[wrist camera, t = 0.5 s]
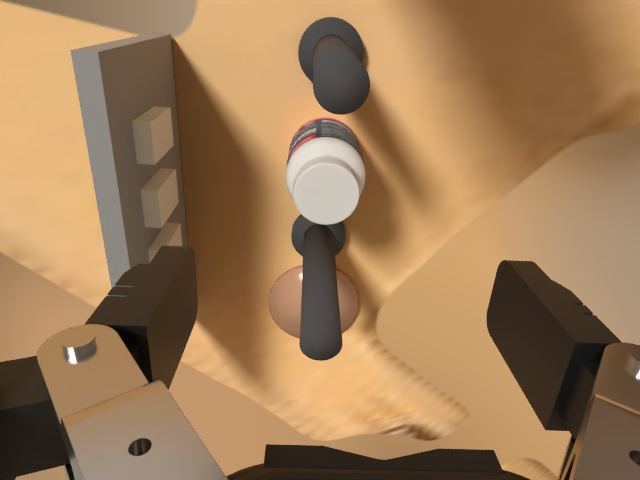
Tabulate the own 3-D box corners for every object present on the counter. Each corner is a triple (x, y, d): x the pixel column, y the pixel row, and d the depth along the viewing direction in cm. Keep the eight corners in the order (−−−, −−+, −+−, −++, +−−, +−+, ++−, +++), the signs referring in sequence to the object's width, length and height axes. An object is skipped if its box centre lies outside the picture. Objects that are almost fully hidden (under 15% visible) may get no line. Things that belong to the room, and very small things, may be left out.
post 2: (292, 207, 37) (282, 310, 25) (347, 210, 38) (363, 313, 25) (291, 254, 39) (280, 372, 27) (342, 257, 40) (356, 374, 27)
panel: (152, 33, 31) (70, 50, 21) (185, 35, 31) (120, 53, 21) (178, 301, 41) (131, 405, 31) (203, 302, 42) (165, 406, 31)
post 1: (300, 15, 31) (291, 25, 19) (365, 19, 31) (400, 32, 19) (297, 83, 33) (288, 134, 21) (358, 87, 33) (386, 139, 21)
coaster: (269, 262, 40) (269, 264, 39) (362, 266, 40) (363, 268, 40) (268, 335, 43) (268, 338, 43) (353, 339, 44) (354, 341, 43)
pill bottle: (309, 103, 34) (307, 134, 26) (371, 135, 35) (388, 175, 27) (278, 165, 36) (268, 212, 28) (337, 194, 37) (344, 246, 29)
